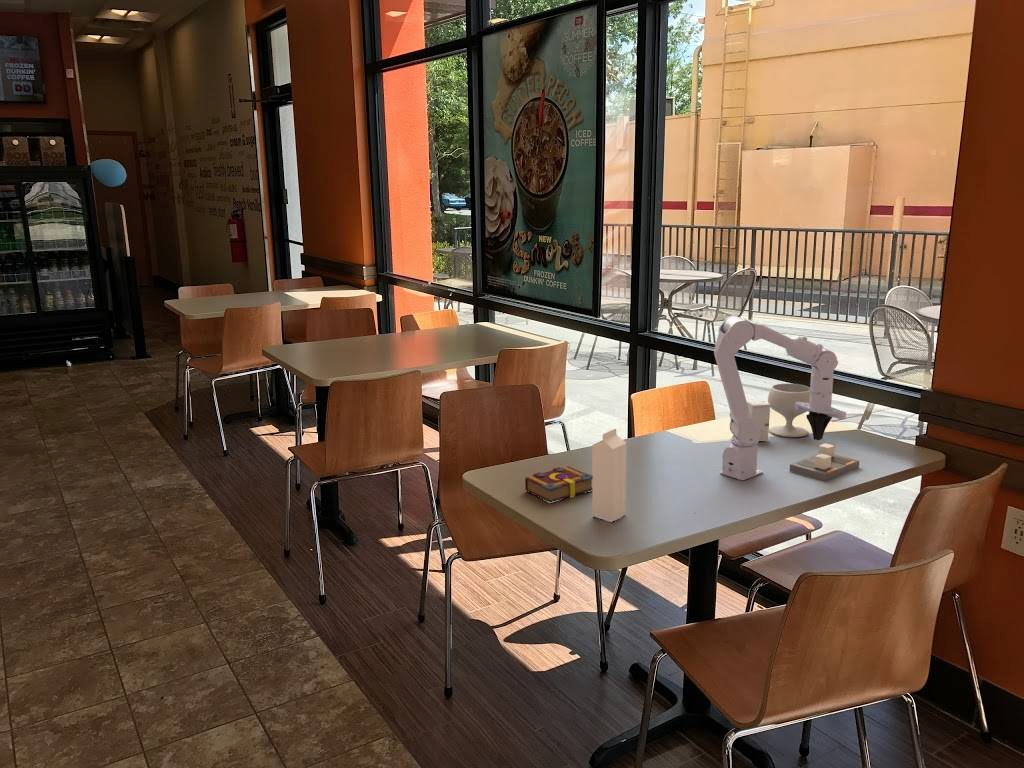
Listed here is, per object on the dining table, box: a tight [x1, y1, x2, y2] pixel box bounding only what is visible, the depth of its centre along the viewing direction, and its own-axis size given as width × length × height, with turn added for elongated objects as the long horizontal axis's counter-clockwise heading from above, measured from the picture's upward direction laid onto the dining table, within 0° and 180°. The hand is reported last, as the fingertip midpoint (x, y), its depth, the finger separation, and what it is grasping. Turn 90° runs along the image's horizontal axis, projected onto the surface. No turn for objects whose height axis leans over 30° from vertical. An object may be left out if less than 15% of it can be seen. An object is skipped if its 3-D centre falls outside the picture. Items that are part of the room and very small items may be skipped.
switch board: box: [789, 453, 860, 482], centre depth 234 cm, size 17×11×2 cm, turn 128°
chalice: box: [767, 383, 810, 438], centre depth 266 cm, size 14×14×15 cm
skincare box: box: [747, 400, 771, 443], centre depth 260 cm, size 6×4×12 cm
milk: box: [592, 428, 627, 521], centre depth 202 cm, size 6×6×22 cm
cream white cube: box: [814, 454, 831, 470], centre depth 229 cm, size 3×3×3 cm
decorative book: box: [524, 465, 593, 502], centre depth 222 cm, size 11×16×5 cm
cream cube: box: [817, 442, 835, 457], centre depth 237 cm, size 3×3×3 cm
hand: (817, 439), depth 230 cm, fingers closed
